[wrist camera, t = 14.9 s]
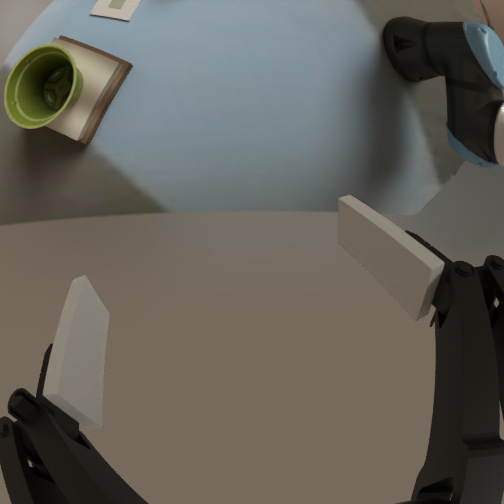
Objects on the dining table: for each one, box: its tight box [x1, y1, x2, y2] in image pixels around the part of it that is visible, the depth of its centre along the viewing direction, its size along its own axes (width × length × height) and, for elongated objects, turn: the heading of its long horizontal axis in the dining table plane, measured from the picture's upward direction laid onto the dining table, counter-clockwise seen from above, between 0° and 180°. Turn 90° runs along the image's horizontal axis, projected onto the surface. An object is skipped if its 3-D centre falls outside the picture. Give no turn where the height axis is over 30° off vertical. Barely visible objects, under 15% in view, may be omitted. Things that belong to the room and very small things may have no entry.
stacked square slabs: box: [45, 35, 133, 144], centre depth 27 cm, size 13×13×6 cm
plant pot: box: [4, 44, 83, 129], centre depth 21 cm, size 9×9×9 cm
